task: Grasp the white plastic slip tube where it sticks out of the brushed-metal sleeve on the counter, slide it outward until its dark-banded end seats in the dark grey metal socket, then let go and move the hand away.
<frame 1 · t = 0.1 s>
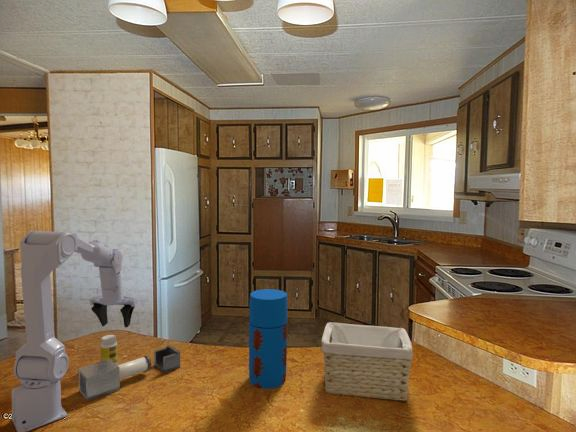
hand: (116, 325, 118), 10 cm above the countertop, tool pointing down, fingers open, 7 cm apart
sleeve: (99, 390, 99), on the countertop
storage basket: (364, 385, 104), on the countertop
thermos: (267, 379, 106), on the countertop
socket: (167, 366, 113), on the countertop
supplement bottle: (109, 364, 114), on the countertop
slip tube: (120, 371, 103), point 3 cm above the countertop, slide at 0.0 cm
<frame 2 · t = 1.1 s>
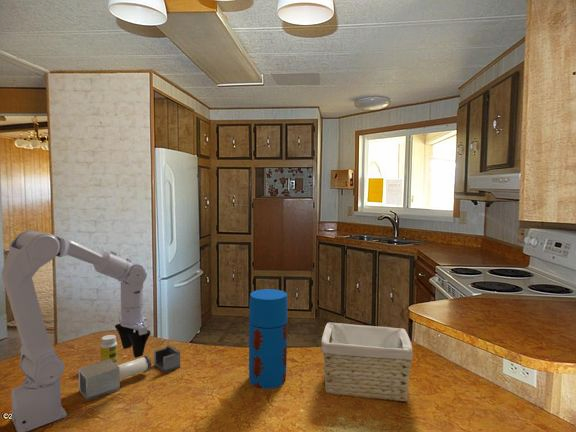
hand: (132, 352, 105), 8 cm above the countertop, tool pointing down, fingers open, 7 cm apart
nothing on the countertop moved.
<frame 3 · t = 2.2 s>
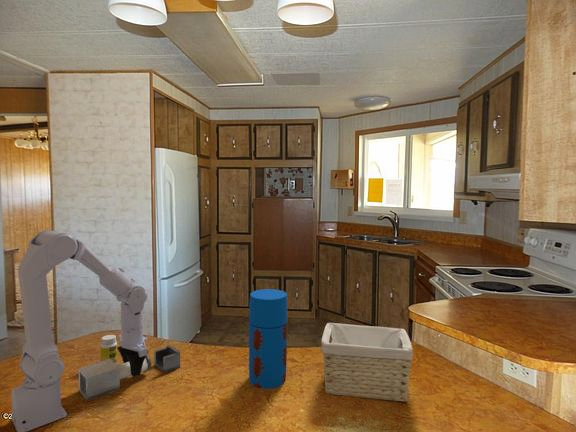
hand: (132, 372, 105), 2 cm above the countertop, tool pointing down, fingers closed on slip tube, 4 cm apart
slip tube: (120, 371, 103), point 3 cm above the countertop, slide at 0.0 cm, touching gripper
everything else where it was.
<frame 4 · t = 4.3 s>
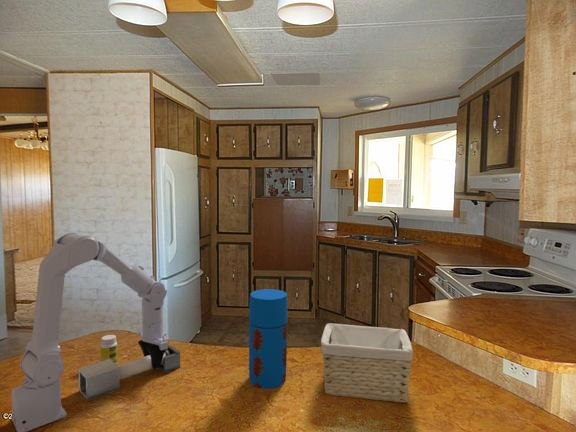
hand: (153, 365, 109), 2 cm above the countertop, tool pointing down, fingers closed on slip tube, 4 cm apart
slip tube: (141, 364, 107), point 3 cm above the countertop, slide at 6.0 cm, touching gripper
everything else where it was.
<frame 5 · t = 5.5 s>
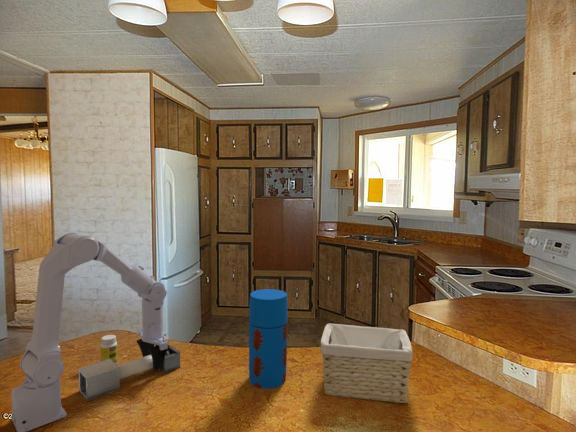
hand: (153, 365, 109), 2 cm above the countertop, tool pointing down, fingers open, 6 cm apart
slip tube: (141, 364, 107), point 3 cm above the countertop, slide at 6.0 cm
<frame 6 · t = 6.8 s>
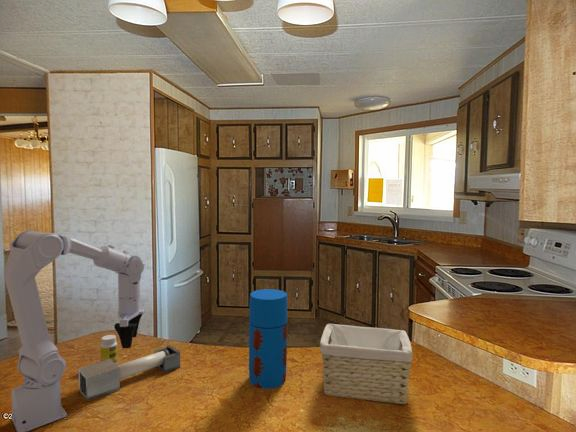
hand: (129, 342, 107), 10 cm above the countertop, tool pointing down, fingers open, 7 cm apart
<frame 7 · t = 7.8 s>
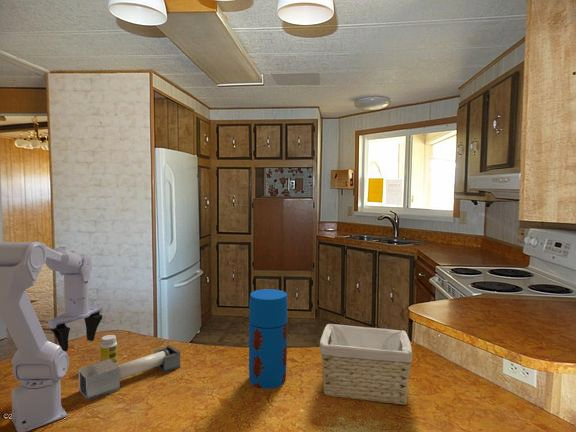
hand: (77, 345, 103), 10 cm above the countertop, tool pointing down, fingers open, 7 cm apart
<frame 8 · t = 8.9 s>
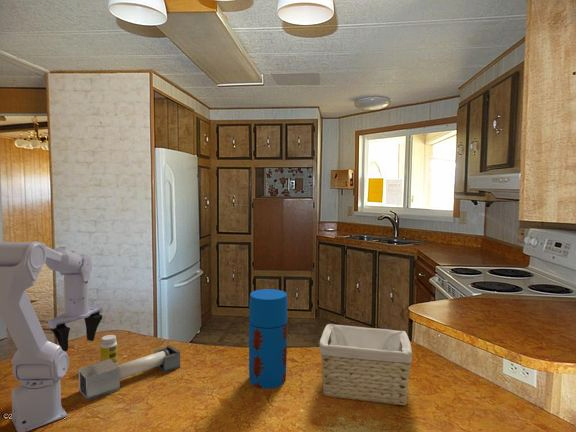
hand: (77, 345, 103), 10 cm above the countertop, tool pointing down, fingers open, 7 cm apart
at the end: slip tube slide at 6.0 cm; the gripper is holding nothing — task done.
